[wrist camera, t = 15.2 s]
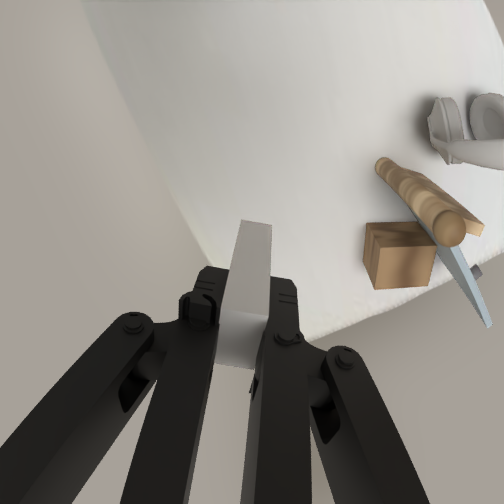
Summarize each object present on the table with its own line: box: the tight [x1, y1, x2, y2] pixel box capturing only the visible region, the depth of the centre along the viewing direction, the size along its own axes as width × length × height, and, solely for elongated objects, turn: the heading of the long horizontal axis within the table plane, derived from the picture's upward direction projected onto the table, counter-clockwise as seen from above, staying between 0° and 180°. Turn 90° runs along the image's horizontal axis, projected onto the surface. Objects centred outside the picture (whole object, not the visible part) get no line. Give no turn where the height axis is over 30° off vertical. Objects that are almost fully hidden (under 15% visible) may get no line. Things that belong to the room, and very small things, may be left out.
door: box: [409, 207, 493, 328], centre depth 38 cm, size 4×20×18 cm, turn 44°
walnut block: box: [363, 222, 437, 290], centre depth 45 cm, size 9×7×8 cm
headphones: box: [427, 93, 504, 170], centre depth 29 cm, size 19×9×20 cm, turn 108°
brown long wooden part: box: [375, 158, 485, 247], centre depth 33 cm, size 8×3×22 cm, turn 81°
